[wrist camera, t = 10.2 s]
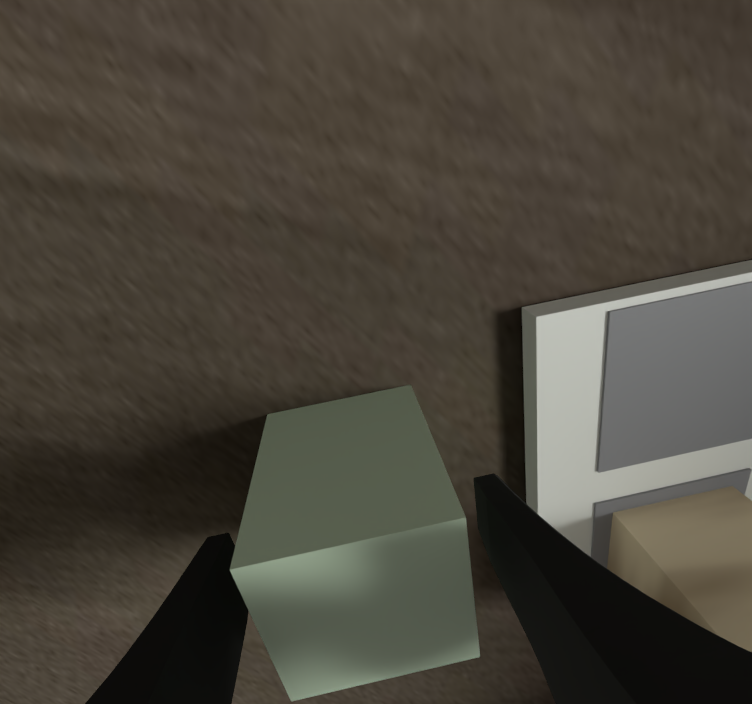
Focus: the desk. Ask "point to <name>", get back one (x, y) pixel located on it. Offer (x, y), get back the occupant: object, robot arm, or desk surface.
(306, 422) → the sage post
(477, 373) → the desk surface
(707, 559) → the wooden toy cube
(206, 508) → the desk surface
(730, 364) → the board
